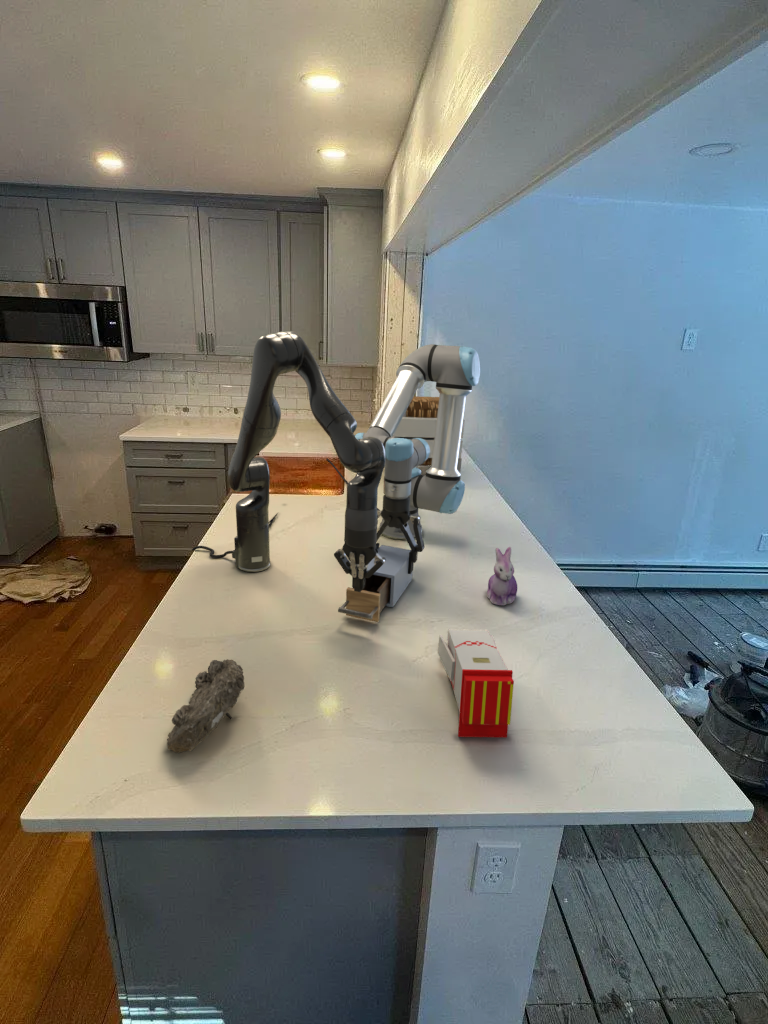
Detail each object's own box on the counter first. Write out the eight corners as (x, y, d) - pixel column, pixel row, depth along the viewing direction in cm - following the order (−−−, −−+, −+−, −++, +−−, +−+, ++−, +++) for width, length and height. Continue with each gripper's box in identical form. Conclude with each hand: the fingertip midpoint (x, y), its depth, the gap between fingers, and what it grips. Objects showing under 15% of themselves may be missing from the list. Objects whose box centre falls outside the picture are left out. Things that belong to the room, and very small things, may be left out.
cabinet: (392, 607, 151) (394, 575, 147) (358, 600, 154) (359, 568, 150) (411, 579, 167) (413, 550, 163) (380, 573, 169) (381, 544, 166)
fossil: (192, 660, 117) (244, 628, 112) (224, 691, 120) (276, 661, 115) (142, 746, 98) (202, 712, 93) (182, 779, 101) (242, 748, 96)
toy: (488, 613, 130) (523, 677, 101) (484, 667, 133) (517, 744, 104) (435, 612, 130) (455, 676, 101) (432, 666, 133) (451, 743, 103)
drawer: (370, 632, 137) (371, 605, 134) (337, 625, 139) (338, 598, 137) (398, 593, 156) (399, 568, 154) (368, 587, 159) (369, 563, 156)
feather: (285, 507, 224) (287, 503, 224) (267, 531, 198) (270, 526, 197) (281, 504, 224) (284, 500, 223) (263, 528, 197) (265, 524, 197)
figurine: (499, 610, 151) (506, 558, 146) (476, 593, 160) (482, 544, 155) (527, 603, 156) (534, 553, 151) (503, 587, 164) (509, 539, 159)
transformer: (382, 463, 289) (386, 382, 275) (445, 464, 293) (451, 384, 279) (390, 482, 257) (394, 392, 243) (460, 483, 261) (468, 394, 247)
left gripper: (328, 524, 130) (327, 591, 136) (382, 534, 126) (379, 603, 132) (341, 514, 136) (339, 578, 142) (393, 523, 132) (389, 588, 138)
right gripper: (353, 493, 156) (351, 566, 163) (433, 505, 149) (427, 581, 157) (363, 486, 163) (361, 556, 170) (439, 497, 156) (433, 570, 163)
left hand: (358, 590), depth 137 cm, fingers closed
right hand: (392, 568), depth 163 cm, fingers closed on cabinet, 10 cm apart
